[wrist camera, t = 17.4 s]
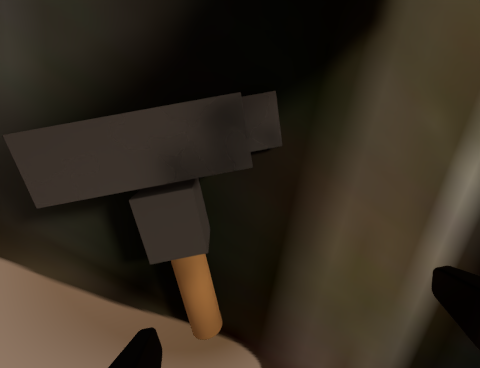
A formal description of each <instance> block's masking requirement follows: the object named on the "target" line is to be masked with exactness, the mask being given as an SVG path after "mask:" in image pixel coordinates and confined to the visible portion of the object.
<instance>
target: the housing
mask: <svg viewBox="0 0 480 368" xmlns="http://www.w3.org/2000/svg"><path fill="white" fill-rule="evenodd" d="M3 137H4V139H5V142H6V144H7V146H8V148H9V150H10V152H11V154H12V157H13V159H14V161H15V163H16V165H17V167H18V169H19V172H20V174H21V176H22V178H23V180H24V182H25V184H26V186H27V189H28V191H29V193H30V195H31V197H32V199H33V201H34V204H35V206H36V208H43V207H48V206H53V205H58V204H64V203H69V202H74V201H79V200H85V199H90V198H95V197H100V196H106V195H111V194H116V193H121V192H126V191H132V190H137V189H142V188H147V187H153V186H158V185H163V184H168V183H174V182H179V181H184V180H189V179H195V178H200V177H205V176H210V175H216V174H221V173H226V172H231V171H237V170H242V169H247V168H252V167H253V165H252V159H251V153H250V152H253V151H258V150H263V149H268V148H274V147H279V146H282V139H281V131H280V123H279V114H278V106H277V98H276V91H271V92H266V93H260V94H255V95H249V96H244V97H241V92H238V93H233V94H227V95H222V96H216V97H211V98H205V99H200V100H194V101H188V102H183V103H177V104H172V105H166V106H161V107H155V108H150V109H144V110H139V111H133V112H127V113H122V114H116V115H111V116H105V117H100V118H94V119H89V120H83V121H78V122H72V123H66V124H61V125H55V126H50V127H44V128H39V129H33V130H28V131H22V132H17V133H11V134H5V135H3Z"/></svg>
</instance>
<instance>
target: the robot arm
mask: <svg viewBox="0 0 480 368" xmlns="http://www.w3.org/2000/svg"><path fill="white" fill-rule="evenodd" d="M432 292H433V294H434V296H435V297H436V299H437V300H438V301H439V302H440V304H441V305H442V306H443V307H444V308H445V310H446V311H447V312H448V313H449V314H450V316H451V317H452V318H453V319H454V321H455V322H456V323H457V324H458V325H459V327H460V328H461V329H462V330H463V332H464V333H465V334H466V335H467V336H468V338H469V339H470V340H471V341H472V342H473V343H474V345H475V346H476V347H477V348H478V349H479V350H480V276H479V275H476V274H473V273H470V272H467V271H464V270H461V269H458V268H455V267H451V266H443V267H438V268H435V269H434V270H433V277H432ZM161 361H162V347H161V343H160V341H159V338H158V335H157V332H156V330H155V329H154V328H146V329H142V330H140V331H139V332H138V333H137V334H136V335H135V337H134V338H133V339H132V340H131V341H130V342H129V344H128V345H127V346H126V347H125V348H124V350H123V351H122V352H121V353H120V354H119V355H118V357H117V358H116V359H115V360H114V361H113V363H112V364H111V365H110V366H109V367H108V368H161Z"/></svg>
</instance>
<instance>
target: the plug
mask: <svg viewBox="0 0 480 368" xmlns="http://www.w3.org/2000/svg"><path fill="white" fill-rule="evenodd" d="M129 203H130V206H131V209H132V212H133V215H134V218H135V221H136V224H137V227H138V229H139V232H140V235H141V238H142V241H143V244H144V247H145V250H146V253H147V256H148V259H149V262H150V264H155V263H160V262H165V261H171V263H172V266H173V270H174V273H175V276H176V279H177V283H178V286H179V289H180V292H181V296H182V299H183V302H184V306H185V309H186V312H187V315H188V319H189V322H190V325H191V328H192V332H193V335H194V336H195V337H196V338H197V339H200V340H207V339H210V338H212V337H214V336H215V335H216V334H217V333H218V332H219V331H220V329H221V327H222V318H221V315H220V311H219V307H218V303H217V299H216V295H215V291H214V287H213V283H212V279H211V275H210V271H209V267H208V263H207V259H206V255H205V254H206V253H208V248H209V236H210V226H209V222H208V217H207V213H206V209H205V205H204V200H203V196H202V192H201V188H200V183H199V179H198V178H195V179H189V180H184V181H179V182H174V183H168V184H163V185H158V186H153V187H147V188H142V189H140V190H139V191H138V192H137V193H136V194H135V195H134V196H133V197H132V198H131V199H130V200H129Z"/></svg>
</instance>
